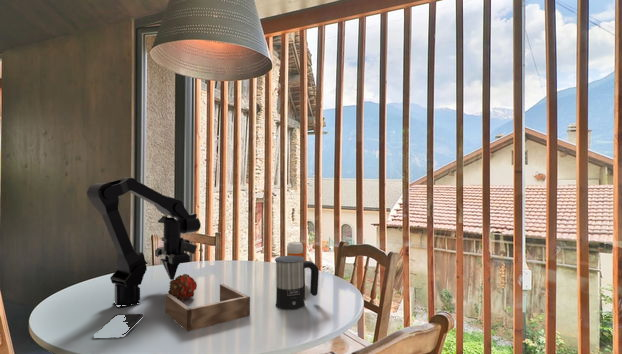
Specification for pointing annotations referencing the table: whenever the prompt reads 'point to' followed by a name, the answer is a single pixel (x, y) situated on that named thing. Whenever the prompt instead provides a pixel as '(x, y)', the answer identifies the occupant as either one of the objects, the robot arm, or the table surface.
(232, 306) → the box
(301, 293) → the milk frother
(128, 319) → the phone
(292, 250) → the white capped bottle
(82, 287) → the table surface
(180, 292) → the dragon fruit
